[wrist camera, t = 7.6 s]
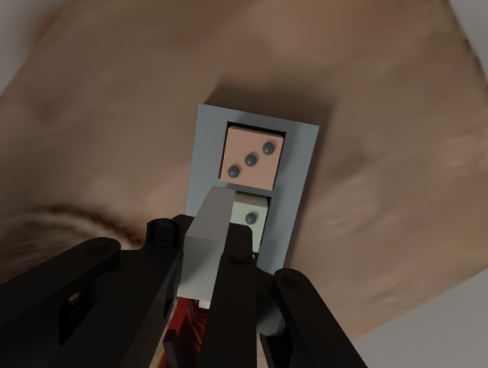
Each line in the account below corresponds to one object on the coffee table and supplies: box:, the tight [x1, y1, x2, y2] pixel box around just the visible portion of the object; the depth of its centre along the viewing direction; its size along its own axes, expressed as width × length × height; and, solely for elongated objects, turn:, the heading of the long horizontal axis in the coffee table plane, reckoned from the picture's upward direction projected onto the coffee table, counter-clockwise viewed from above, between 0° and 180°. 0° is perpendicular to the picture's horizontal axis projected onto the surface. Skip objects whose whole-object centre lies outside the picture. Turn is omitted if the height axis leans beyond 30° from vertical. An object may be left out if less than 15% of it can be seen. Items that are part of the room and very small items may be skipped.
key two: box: [230, 190, 268, 252], centre depth 30 cm, size 6×6×4 cm
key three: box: [220, 126, 283, 191], centre depth 27 cm, size 6×6×4 cm
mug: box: [156, 297, 209, 368], centre depth 32 cm, size 10×14×12 cm
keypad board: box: [177, 103, 319, 290], centre depth 31 cm, size 13×24×2 cm, turn 170°
